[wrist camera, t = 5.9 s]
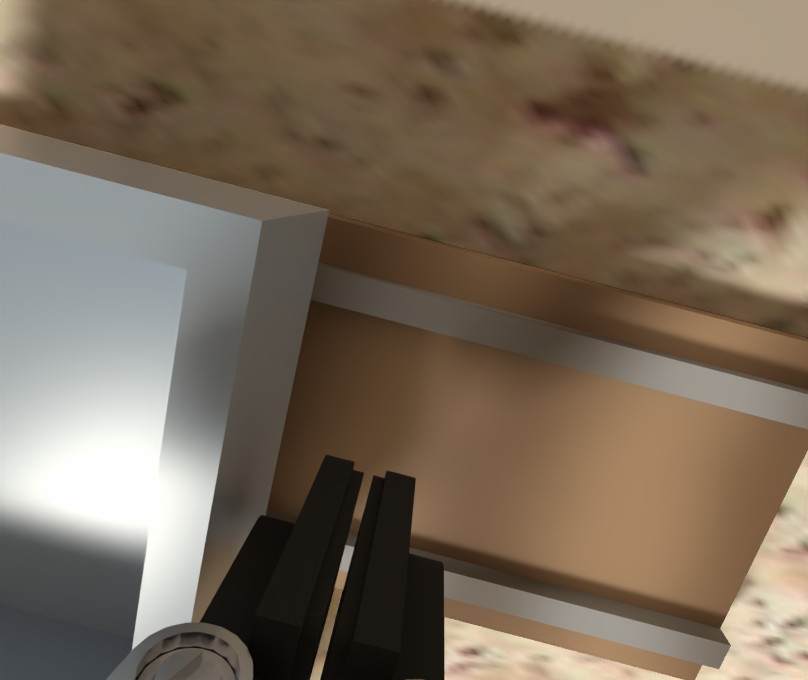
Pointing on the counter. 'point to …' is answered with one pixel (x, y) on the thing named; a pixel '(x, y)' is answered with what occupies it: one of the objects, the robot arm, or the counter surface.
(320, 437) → the track
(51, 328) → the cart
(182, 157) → the counter surface
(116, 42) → the counter surface
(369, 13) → the counter surface
